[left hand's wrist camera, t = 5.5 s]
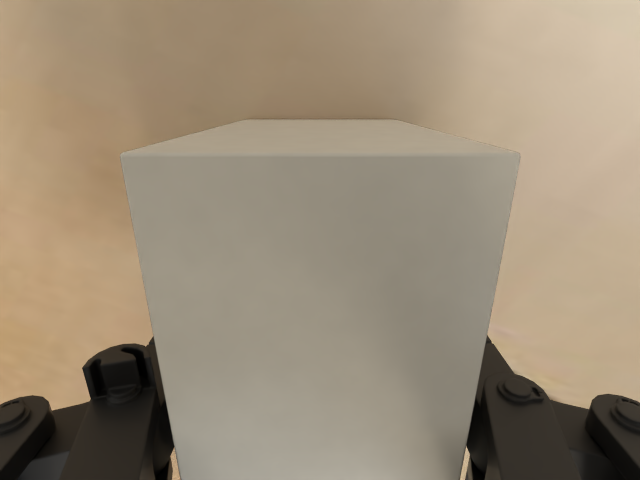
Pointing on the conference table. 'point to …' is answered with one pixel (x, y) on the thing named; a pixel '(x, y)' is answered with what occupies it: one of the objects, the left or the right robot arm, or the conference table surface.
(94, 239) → the conference table surface
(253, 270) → the post
